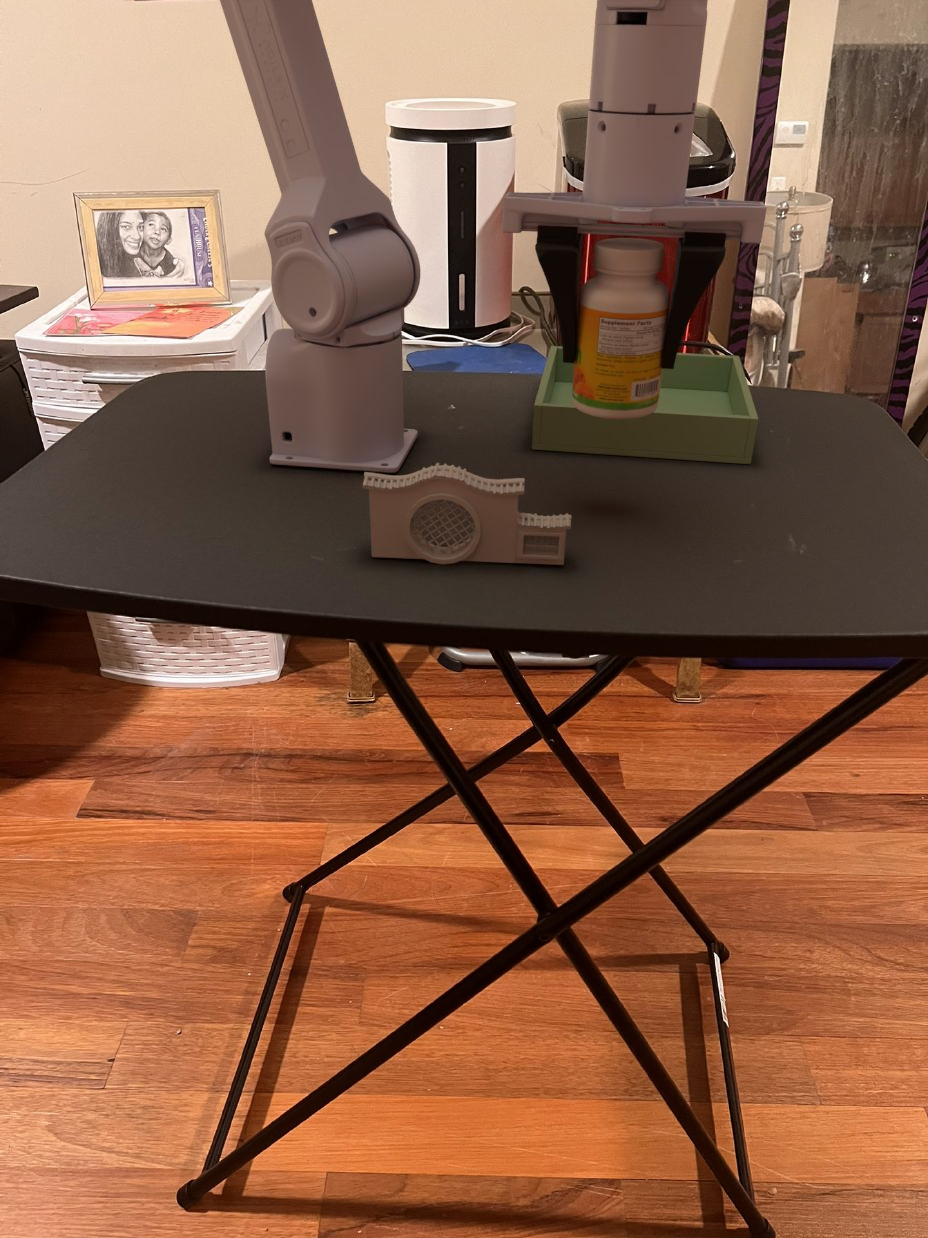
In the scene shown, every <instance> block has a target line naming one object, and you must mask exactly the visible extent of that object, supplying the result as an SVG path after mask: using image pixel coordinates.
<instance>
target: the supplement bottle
mask: <svg viewBox="0 0 928 1238" xmlns="http://www.w3.org/2000/svg"><path fill="white" fill-rule="evenodd" d="M664 255H665V245H664V244H663V243H662V242H660V241H657V240H654V239H646V238H638V237H636V238H635V237H613V238H605V239H604V238H603V239H601V240H598V241H596V242H595V243H594V251H593V265H592V268H593V269H594V270H595V271H596V274H595V277H592V278H591V279H589V280H587V281H586V282H584V284H582V286H581V288H580V290H579V292H578V317H577V331H576V352H575V362H574V375H573V389H572V402H573V404H574V406H575V407H576V408H577V409H578V410H580V411H581V412H583V413H586V414H588V415H591V416H595V417H599V418H606V419H632V418H639V417H644V416H647V415H649V414H651V413H653V412H654V411H655V410H656V408H657V406H658V402H659V394H660V386H661V377H662V360H663V351H664V346H665V339H666V332H667V324H668V316H669V311H670V305H671V293H670V290H669V288H668V286H667V285H666V284H665V283H663V282H662V281H660V280H658V273H660V272H661V271H662V269H663V268H662V267H663V265H664Z"/></svg>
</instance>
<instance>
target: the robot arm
mask: <svg viewBox="0 0 928 1238" xmlns="http://www.w3.org/2000/svg"><path fill="white" fill-rule="evenodd" d="M708 1H709V0H596V9H595V14H594V29H593V30H594V31H593V46H592V56H591V71H590V84H589V100H588V111H587V112H588V113H587V125H586V138H585V139H586V140H585V152H584V167H583V168H584V169H583V181H582V191H573V192H572V191H568V192H564V191H563V192H562V191H561V192H559V191H558V192H517V191H516V192H515V191H514V192H513V191H508V192H507V193H506V194H505V195H504V196H503V197H502V222H501V223H502V225H501V226H502V227H501V232H502V233H503V234H504V233H507V234H521V233H522V232H533V233H534V232H536V243H535V245H534V249H535V253H536V256H537V261H538V263H539V265H540V267H541V270H542V272H543V275H544V277H545V281H546V284H547V285H548V289H549V291H550V295H551V298H552V301H553V304H554V308H555V313H556V317H557V321H558V326H559V327H558V328H559V331H560V337H561V338H560V339H561V346H562V348H563V362H564V363H574V362H575V352H576V331H577V317H578V301H579V285H580V273H581V262H582V261H581V260H582V252H583V251H582V250H583V240H584V235H602V236H603V235H604V236H626V237H627V236H629V237H652V238H653V237H654V238H672V239H673V238H674V239H676V238H677V239H678V240H677V241H676V242H677V243H676V255H675V264H674V271H673V274H674V275H673V281H672V282H673V284H672V291H671V298H670V307H669V315H668V324H667V332H666V339H665V346H664V351H663V360H662V369H674V364H675V359H676V355H677V353H679V352H678V351H679V349H680V345H681V343H682V340H683V337H684V335H685V332H686V330H687V327H688V325H689V323H690V321H691V318H692V316H693V314H694V313H695V310H696V308H697V306H698V304H699V302H700V301H701V299H702V297H703V295H704V293H705V292H706V290H707V288H708V287H709V285H710V283H711V282H712V280H713V279H714V277H715V276H716V274H717V273H718V271H719V269H720V268H721V266H722V264H723V262H724V259H725V258H726V252H727V248H726V241H740V242H741V243H742V244H761V243H762V240H763V235H764V227H765V221H766V215H767V209H768V208H767V206H766V204H765V203H764V202H763V201H755V200H754V201H753V200H736V199H724V198H715V197H714V198H713V197H702V196H689V195H686V193H687V192H686V191H687V184H688V177H689V176H688V175H689V167H690V159H691V151H692V144H693V134H694V126H695V119H696V111H697V105H698V95H699V87H700V81H701V71H702V65H703V63H702V62H703V55H704V45H705V40H706V39H705V38H706V29H707V22H708ZM219 2H220V5H221V8H222V11H223V14H224V17H225V21H226V24H227V28H228V31H229V34H230V37H231V40H232V43H233V46H234V50H235V52H236V56H237V58H238V61H239V65H240V68H241V72H242V75H243V77H244V81H245V84H246V87H247V90H248V94H249V96H250V99H251V103H252V106H253V109H254V113H255V115H256V118H257V122H258V124H259V128H260V131H261V134H262V138H263V141H264V143H265V146H266V151H267V152H268V156H269V160H270V162H271V166H272V168H273V172H274V176H275V178H276V182H277V184H278V188H279V191H280V194H281V196H280V198H279V201H278V203H277V205H276V207H275V209H274V211H273V213H272V215H271V217H270V219H269V220H268V222H267V225H266V227H265V229H264V233H263V234H264V238H265V241H266V244H267V246H268V250H269V255H270V260H271V262H270V263H271V278H270V279H271V280H270V282H271V291H272V297H273V300H274V303H275V306H276V308H277V310H278V312H279V314H280V316H281V317H282V318H283V321H285V322H286V324H287V326H289V328H279V329H276V330H275V331H274V332H273V333H272V335H271V337H270V339H269V341H268V344H267V349H266V353H265V354H266V355H265V367H264V370H265V371H264V372H265V373H264V374H265V375H264V377H265V378H264V379H265V390H266V399H267V409H268V411H267V412H268V419H269V420H268V421H269V430H270V431H269V432H270V442H271V451H272V452H271V455H270V456H269V463H270V464H271V465H276V466H277V465H278V466H291V467H302V468H303V467H305V468H317V469H319V468H320V469H321V468H322V469H333V470H347V471H361V472H371V473H386V474H387V473H388V474H394V473H398V472H399V470H400V469H401V467H402V465H403V463H405V462H404V461H405V460H406V459H407V456H408V455H409V452H410V451H411V449H412V447H413V446H414V443H415V442H416V440H417V438H418V437H419V432H418V430H417V429H414V428H405V413H404V411H405V410H404V407H405V406H404V363H403V358H404V357H403V333H402V331H403V325H404V324H405V322H406V321H405V308H407V307H408V306H409V305H410V304H411V303H412V301H413V300H414V298H415V297H416V295H417V293H418V290H419V288H420V287H419V286H420V283H421V263H420V259H419V256H418V252H417V250H416V247H415V245H414V244H413V242H412V240H411V238H409V236H408V235H407V234H406V232H405V231H404V230H403V228H402V227H401V226H400V224H399V221H398V220H397V218H396V215H395V212H394V208H393V205H392V201H391V199H390V197H389V196H387V195H386V193H384V192H383V191H382V189H380V188H379V187H378V186H377V185H376V184H375V183H374V182H373V181H372V180H370V179H369V178H368V177H367V176H366V175H365V174H364V173H363V172H362V169H361V166H360V163H359V162H360V161H359V158H358V156H357V152H356V149H355V148H356V147H355V145H354V142H353V138H352V135H351V132H350V131H351V130H350V127H349V124H348V121H347V118H346V113H345V110H344V107H343V103H342V100H341V96H340V93H339V90H338V85H337V82H336V79H335V76H334V72H333V68H332V65H331V61H330V58H329V54H328V51H327V48H326V44H325V41H324V37H323V33H322V30H321V27H320V23H319V20H318V15H317V13H316V10H315V6H314V3H313V0H219ZM599 221H602V222H603V221H604V222H613V223H600V222H599ZM643 224H644V225H643ZM646 224H664V225H646ZM331 230H333V231H335V232H334V233H330V231H331Z"/></svg>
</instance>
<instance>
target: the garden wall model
mask: <svg viewBox="0 0 928 1238" xmlns="http://www.w3.org/2000/svg"><path fill="white" fill-rule="evenodd" d="M363 472H364V473H363V482H362V489H367V490H368V498H369V500H368V502H369V522H370V524H369V525H370V546H371V547H370V548H371V549H370V550H371V557H372V558H389V559H411V560H412V559H414V560H425V561H427V562H429V563H434V564H438V565H451V564H456V563H459V562H480V563H481V562H482V563H484V562H485V563H505V564H506V563H507V564H533V565H558V566H564V565H565V554H566V552H565V551H566V537H567V530H571V528H572V527H571V525H572V524H571V523H572V515H571V514H569V513H568V512H567V513H566V512H565V514H561V513H559V515H556V514H552V516H551V515H549V514H548V515H546V516H545V515H543V514H541V515H538V514H537V513H533V514H532V513H530V512H528V513H526V512H519V510H518V509H519V496H520V495H525V480H526V479H525V478H524V477H516V478H515V477H514V478H503V479H502V478H499V479H496V478H495V479H494V478H485V477H482V476H479V475H478V474H477V475H476V474H474V473H472V472H468V471H467V468H463V469H462V467H461V466H455V464H451V465H448V464H447V463H444V464H443V465H442V464H441V465H440V462H436V463H435V465H430V466H428V467H425V466H423V467H422V469H421V470H417V471H415V472H411V473H408V474H401V475H390V474H383V473H378V472H371V471H363ZM440 500H441V501H440ZM449 501H450V502H451V503H450V502H449ZM433 502H435V503H436V504H435V505H433V504H432V503H433ZM443 503H445V504H446V506H445V507H443V506H442V504H443ZM454 505H456V507H454V508H453V506H454ZM426 506H429V507H430V508H429V509H427V510H426V509H425V507H426ZM437 507H439V508H440V510H439V511H437V510H436V508H437ZM447 509H449V511H448V512H446V510H447ZM458 509H459V510H460V512H459V513H458V514H457V513H456V512H455V511H457V510H458ZM420 510H422V511H423V512H422V513H421V514H419V513H418V512H419V511H420ZM431 511H432V512H433V513H434V514H433V515H432V514H431V516H430V515H429V513H430V512H431ZM467 512H468V514H469V515H467V514H466V513H467ZM441 513H443V515H442V516H440V514H441ZM451 514H453V515H454V516H453V517H451V518H450V516H449V515H451ZM414 515H416V517H415V518H414V517H413V516H414ZM462 515H463V516H464V518H463V519H460V516H462ZM423 516H427V518H426V519H424V520H423V519H422V517H423ZM435 517H437V519H436V520H433V518H435ZM445 518H446V519H447V520H446V521H444V520H443V519H445ZM470 519H472V520H473V522H472V521H471V520H470ZM417 520H419V521H420V523H418V524H417V525H416V523H415V521H417ZM454 520H457V523H455V524H454V522H453V521H454ZM428 521H430V522H431V523H429V524H428V525H427V524H426V523H427V522H428ZM466 521H467V522H468V523H469V524H467V526H465V524H464V522H466ZM438 522H440V523H441V524H440V525H439V526H437V525H436V523H438ZM449 523H450V524H451V527H449V528H448V526H447V525H448V524H449ZM422 525H423V527H422V528H421V529H419V527H421V526H422ZM431 526H433V527H434V529H432V530H430V528H431ZM458 526H461V527H462V528H461V529H460V530H459V529H458V528H457V527H458ZM443 527H444V529H445V530H444V531H443V532H442V531H441V530H440V529H441V528H443ZM469 528H472V529H473V531H471V532H469V531H468V529H469ZM453 529H454V530H455V531H456V532H455V533H454V534H453V533H452V532H451V531H452V530H453ZM425 530H426V531H427V533H426V534H425V535H423V533H422V532H424V531H425ZM435 532H437V533H438V535H437V536H435V535H434V533H435ZM463 532H465V533H466V535H465V536H463V535H462V533H463ZM447 533H448V534H449V537H447V538H446V536H444V535H445V534H447ZM428 536H430V537H431V539H429V540H427V539H426V538H427V537H428ZM457 536H459V537H460V539H458V540H457V539H456V537H457ZM440 537H441V538H442V539H443V540H442V541H441V542H439V541H438V540H437V539H439V538H440ZM467 538H468V539H467ZM450 540H453V541H454V543H452V544H450V543H449V541H450ZM462 541H463V542H462ZM433 542H435V544H436V545H435V544H433ZM461 542H462V543H461ZM445 543H446V545H447V546H442V545H444V544H445Z"/></svg>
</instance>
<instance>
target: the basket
mask: <svg viewBox="0 0 928 1238" xmlns="http://www.w3.org/2000/svg"><path fill="white" fill-rule="evenodd" d="M573 375H574V363H564V362H563V348H562V345H561V346H560V345H559V346H557V345H551V346H550V348H549V352H548V355H547V359H546V362H545V366H544V369H543V373H542V376H541V378H540V383H539V386H538V390H537V393H536V397H535V401H534V404H533V413H532V415H533V416H532V436H531V437H532V438H531V450H533V451H534V450H536V451H550V452H563V453H564V452H565V453H578V454H593V455H607V456H608V455H609V456H610V455H611V456H623V457H637V458H650V459H652V458H653V459H664V460H665V459H666V460H668V459H669V460H682V461H696V462H710V463H723V464H725V463H726V464H740V465H751V464H752V460H753V459H752V458H753V454H754V449H755V448H754V447H755V442H756V436H757V432H758V425H759V421H760V420H759V417H758V413H757V410H756V407H755V403H754V399H753V397H752V394H751V389H750V387H749V384H748V381H747V378H746V374H745V371H744V368H743V365H742V360H741V358H740V356H739V355H728V354H727V355H725V354H710V353H709V354H707V353H706V354H705V353H690V352H689V353H688V352H677V355H676V359H675V364H674V369H662V377H661V386H660V394H659V402H658V406H657V408H656V410H655V411H654V412H653V413H651V414H649V415H647V416H644V417H639V418H632V419H606V418H599V417H595V416H591V415H588V414H586V413H583V412H581V411H580V410H578V409H577V408H576V407H575V406H574V404H573V402H572V389H573Z"/></svg>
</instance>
